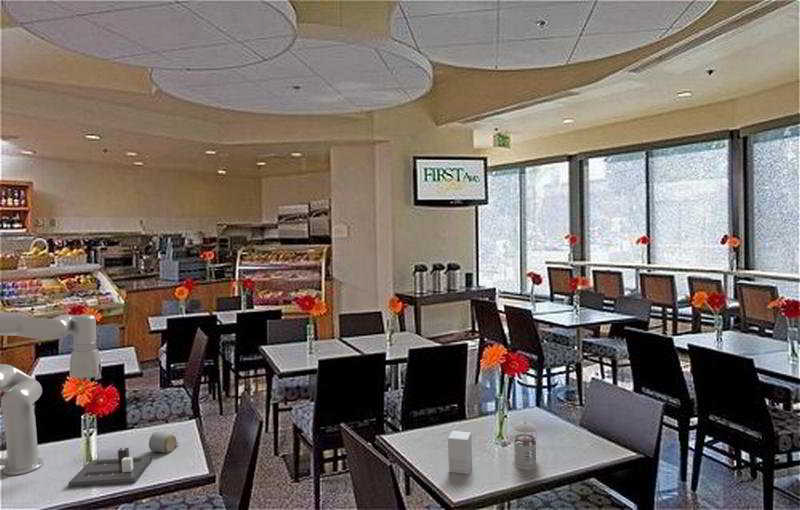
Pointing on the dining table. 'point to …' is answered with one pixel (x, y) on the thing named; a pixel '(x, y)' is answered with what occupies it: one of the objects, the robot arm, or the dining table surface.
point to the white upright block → (127, 464)
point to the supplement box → (460, 452)
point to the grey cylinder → (162, 442)
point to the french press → (525, 446)
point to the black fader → (123, 453)
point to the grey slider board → (109, 473)
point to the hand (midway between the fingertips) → (87, 394)
